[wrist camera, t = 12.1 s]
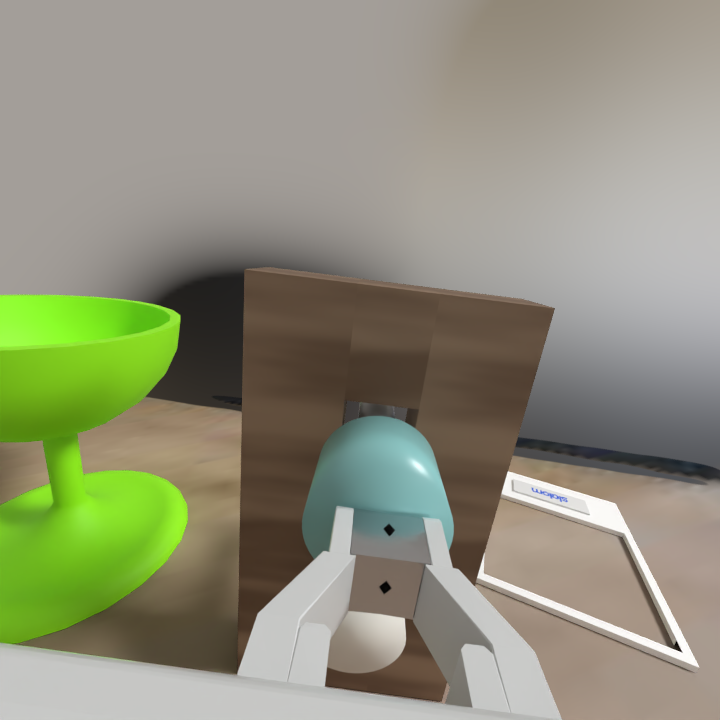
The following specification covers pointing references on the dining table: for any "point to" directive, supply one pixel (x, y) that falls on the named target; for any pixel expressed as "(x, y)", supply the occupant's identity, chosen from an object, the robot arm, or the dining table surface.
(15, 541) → the wineglass
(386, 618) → the knob lower
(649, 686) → the dining table surface
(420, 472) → the knob upper
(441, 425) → the block
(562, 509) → the photo frame
